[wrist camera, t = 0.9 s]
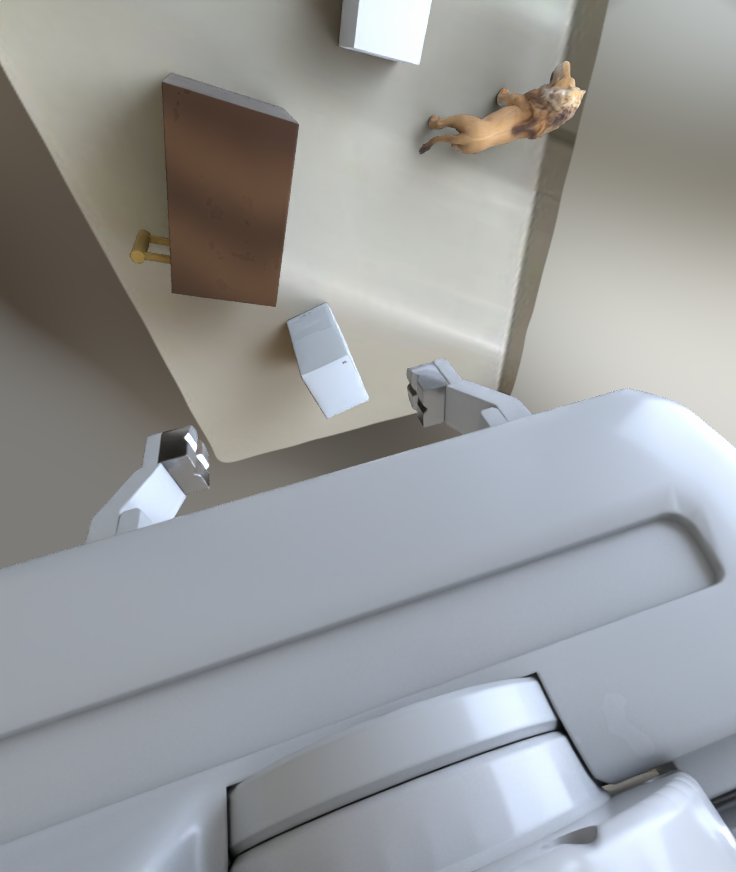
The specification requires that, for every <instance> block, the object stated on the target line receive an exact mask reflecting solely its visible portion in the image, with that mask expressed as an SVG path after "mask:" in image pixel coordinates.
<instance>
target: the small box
mask: <svg viewBox="0 0 736 872" xmlns="http://www.w3.org/2000/svg"><path fill="white" fill-rule="evenodd" d="M287 326H288V329H289V333H290V337H291V340H292V344H293V348H294V352H295V356H296V360H297V364H298V367H299V372H300V376H301V378H302V380H303V381H304V383H305V385H306V386H307V388H308V390H309V391H310V393H311V394H312V396H313V397H314V399H315V401H316V402H317V404H318V406H319V407H320V409H321V410H322V412H323V414H324V415H325V417H326V418H330V417H332V416H334V415H336V414H338V413H341V412H343V411H345V410H348V409H350V408H352V407H354V406H357V405H359V404H361V403H363V402H366V401H368V400H369V397H368V394H367V392H366V389H365V387H364V385H363V382H362V380H361V377H360V375H359V373H358V370H357V368H356V365H355V363H354V361H353V358H352V356H351V353H350V351H349V349H348V346H347V344H346V341H345V339H344V337H343V335H342V332H341V330H340V328H339V326H338V324H337V322H336V320H335V317H334V315H333V313H332V311H331V309H330V307H329V305H328V303H324V304H322V305H320V306H318V307H316V308H314V309H311V310H309V311H307V312H305V313H303V314H301V315H299V316H297V317H295V318H293V319H291V320H288V321H287Z"/></svg>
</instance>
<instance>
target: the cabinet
mask: <svg viewBox="0 0 736 872" xmlns="http://www.w3.org/2000/svg"><path fill="white" fill-rule="evenodd" d="M162 98H163V119H164V139H165V160H166V180H167V200H168V221H169V241H170V261H171V282H172V293H175V294H182V295H190V296H197V297H205V298H213V299H220V300H228V301H235V302H243V303H250V304H258V305H266V306H273V307H276V302H277V294H278V286H279V278H280V270H281V263H282V255H283V247H284V239H285V231H286V223H287V215H288V207H289V200H290V192H291V184H292V176H293V168H294V160H295V152H296V144H297V137H298V129H299V124H298V123H297V122H296V121H295V120H294V119H293V118H292V117H291V116H290V114H289V113H288V112H287V111H286V110H285V109H284V108H281V107H278V106H275V105H271V104H268V103H265V102H262V101H259V100H256V99H253V98H250V97H246V96H243V95H240V94H237V93H234V92H231V91H228V90H225V89H221V88H218V87H215V86H212V85H209V84H206V83H203V82H199V81H196V80H193V79H190V78H187V77H184V76H181V75H178V74H174V73H171V74H170V75H169V76H168V77H166V78H165V79H164V80H163V81H162Z"/></svg>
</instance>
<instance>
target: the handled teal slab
mask: <svg viewBox="0 0 736 872" xmlns="http://www.w3.org/2000/svg"><path fill="white" fill-rule="evenodd" d="M150 243H155V244H161V245H167V246H170V241H169V238H165V237H159V236H153V235H151V234H150V233H149V232H148V231H147V230H143V229H142V230H140V231H139V232H138V234H137V237H136V240H135V242H134V245H133V248H132V250H131V253H130V257H131V259H132V260H133V261H134V262H135V263H143V262H144V260H150V261H156V262H163V263H169V264H171V261H170V256H169V255H163V254H157V253H151V252H147V250H148V247H149V244H150Z"/></svg>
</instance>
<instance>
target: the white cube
mask: <svg viewBox="0 0 736 872" xmlns="http://www.w3.org/2000/svg"><path fill="white" fill-rule="evenodd" d="M431 1H432V0H343V4H342V15H341V26H340V36H339V47H343V48H346V49H350V50H354V51H358V52H362V53H366V54H369V55H373V56H377V57H381V58H385V59H389V60H392V61H396V62H402V63H409V64H416V65H419V63H420V58H421V52H422V47H423V42H424V37H425V32H426V27H427V22H428V17H429V12H430V6H431Z"/></svg>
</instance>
